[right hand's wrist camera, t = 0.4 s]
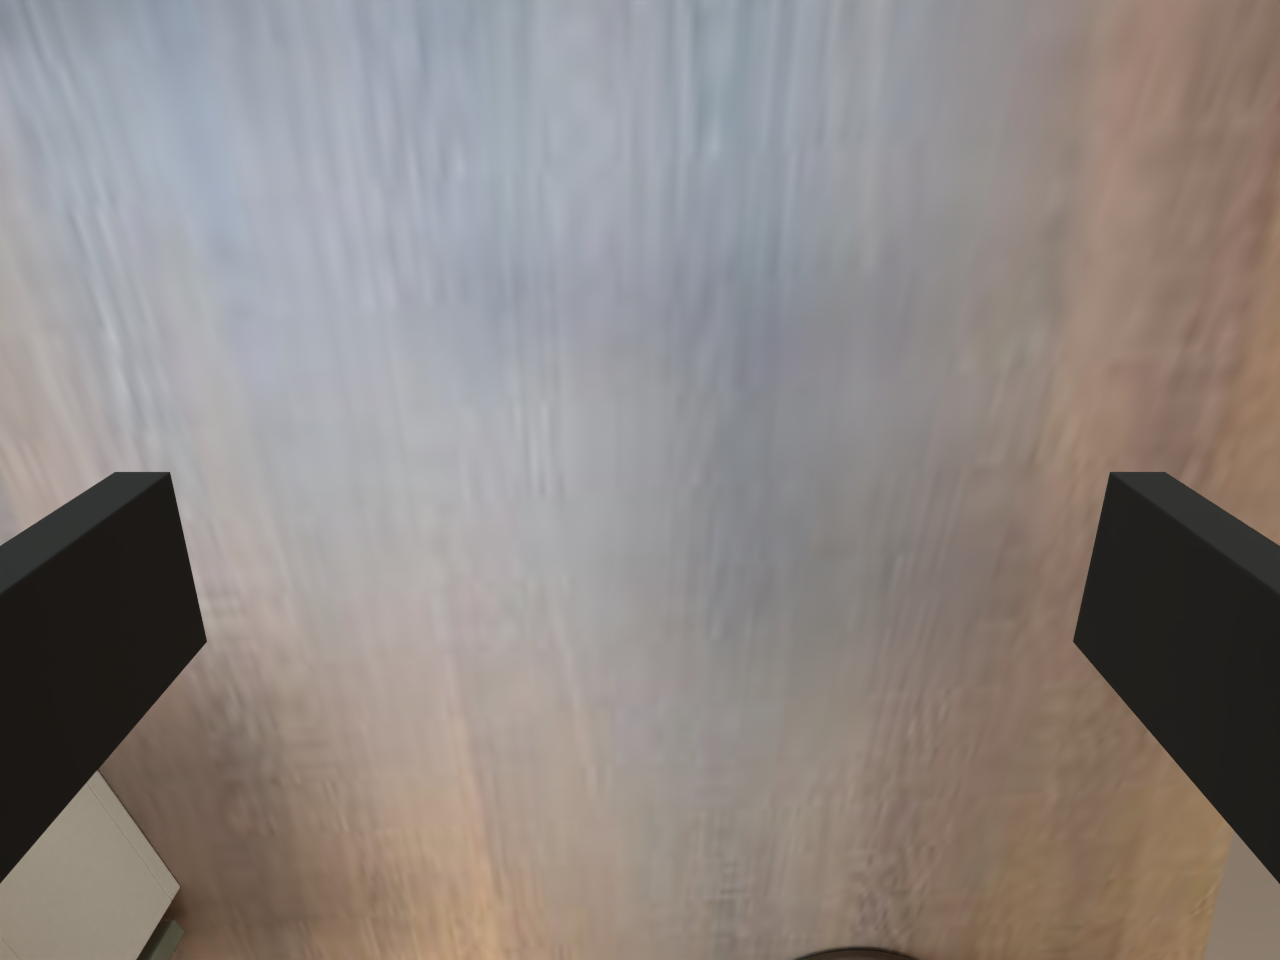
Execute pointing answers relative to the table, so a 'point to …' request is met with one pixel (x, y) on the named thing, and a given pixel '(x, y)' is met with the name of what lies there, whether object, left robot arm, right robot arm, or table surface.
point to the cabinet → (85, 886)
